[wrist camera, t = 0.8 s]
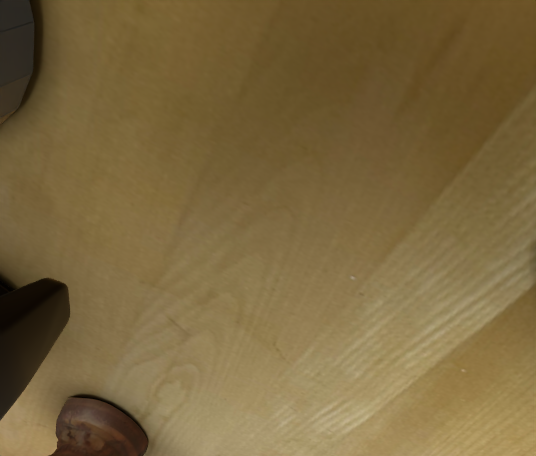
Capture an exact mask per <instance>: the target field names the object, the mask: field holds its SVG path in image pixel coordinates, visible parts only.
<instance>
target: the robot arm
mask: <svg viewBox="0 0 536 456" xmlns="http://www.w3.org/2000/svg"><path fill="white" fill-rule="evenodd" d="M69 317H70V304H69V293H68V287H67V286H66V284H64V283H62V282H60V281H57V280H54V279H52V278H43V279H40V280H38V281H36V282H33V283H31V284H28V285H26V286H23V287H21V288H19V289H16V290H12V289H11V288H10V287H8V286H7V285H6V284H4V283H3V282H2V281H0V420H1V419H2V418H3V416H4V415H5V414H6V413H7V411H8V410H9V409H10V408H11V406H12V405H13V404H14V403H15V401H16V400H17V399H18V397H19V396H20V395H21V394H22V392H23V391H24V389H25V388H26V387H27V385H28V384H29V382H30V381H31V379H32V378H33V376H34V374H35V373H36V371H37V370H38V368H39V367H40V365H41V363H42V362H43V360H44V359H45V357H46V356H47V354H48V353H49V351H50V349H51V348H52V346H53V345H54V343H55V342H56V340H57V338H58V337H59V335H60V334H61V332H62V331H63V329H64V328H65V326H66V324H67V322H68V320H69Z"/></svg>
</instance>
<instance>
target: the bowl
mask: <svg viewBox="0 0 536 456" xmlns="http://www.w3.org/2000/svg"><path fill="white" fill-rule="evenodd" d="M34 28H35V22H34V18H33V14H32V9H31V5H30V0H0V124H1V123H2V122H3V121H5V120H6V119H7V118H8V117H9V116H10V115H11V114H13V113H14V112H15V111H16V110H17V109H18V107H19V105H20V103H21V100H22V98H23V95H24V93H25V90H26V88H27V85H28V83H29V80H30V78H31V75H32V72H33V60H34Z"/></svg>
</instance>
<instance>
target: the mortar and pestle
mask: <svg viewBox="0 0 536 456" xmlns="http://www.w3.org/2000/svg"><path fill="white" fill-rule="evenodd" d="M56 436H57V438H58V442H57V449H56V451H55V452H54V453H53V454H52V455H49V456H143V455H144V453H145V451H146V450H147V446H148V440H147V438H146V436H145V435H144V433H143V431H142V430H141V428H140V427H139V426H138V425H137V424H136V423H135V422H134V421H133V420H132V419H131V418H129V417H128V416H127V415H125V414H124V413H122V412H121V411H120V410H118V409H116V408H115V407H113V406H111V405H109V404H107V403H105V402H102V401H99V400H95V399H87V398H68V399H67V401H66V402H65V404H64V406H63V408H62V410H61V412H60V414H59V416H58V418H57V423H56Z"/></svg>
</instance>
